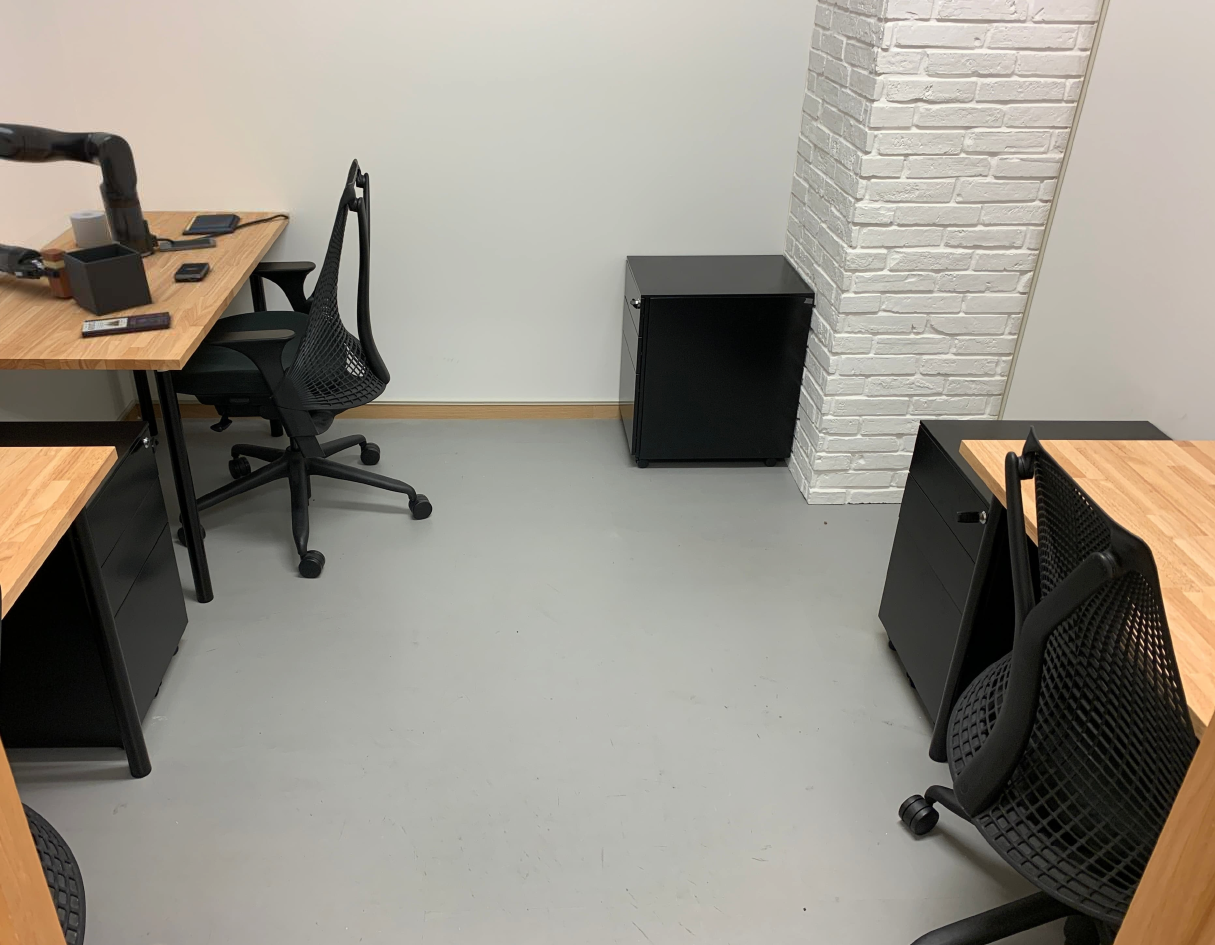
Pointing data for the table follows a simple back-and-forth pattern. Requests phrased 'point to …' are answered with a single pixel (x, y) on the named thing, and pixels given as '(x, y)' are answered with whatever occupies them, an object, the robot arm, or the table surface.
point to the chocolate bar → (125, 324)
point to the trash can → (107, 278)
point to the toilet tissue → (90, 229)
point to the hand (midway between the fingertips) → (65, 272)
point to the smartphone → (187, 244)
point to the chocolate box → (55, 261)
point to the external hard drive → (191, 272)
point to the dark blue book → (211, 224)
